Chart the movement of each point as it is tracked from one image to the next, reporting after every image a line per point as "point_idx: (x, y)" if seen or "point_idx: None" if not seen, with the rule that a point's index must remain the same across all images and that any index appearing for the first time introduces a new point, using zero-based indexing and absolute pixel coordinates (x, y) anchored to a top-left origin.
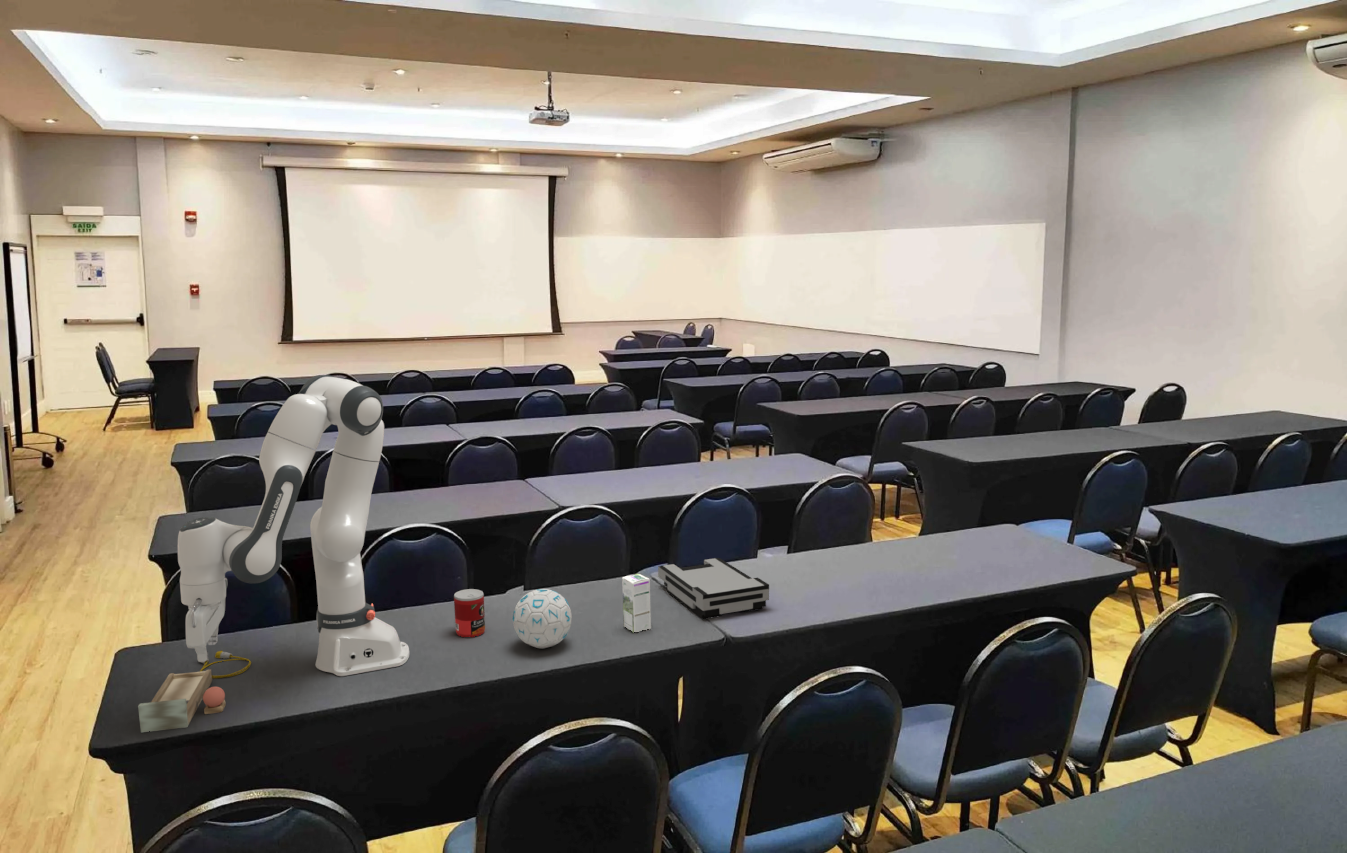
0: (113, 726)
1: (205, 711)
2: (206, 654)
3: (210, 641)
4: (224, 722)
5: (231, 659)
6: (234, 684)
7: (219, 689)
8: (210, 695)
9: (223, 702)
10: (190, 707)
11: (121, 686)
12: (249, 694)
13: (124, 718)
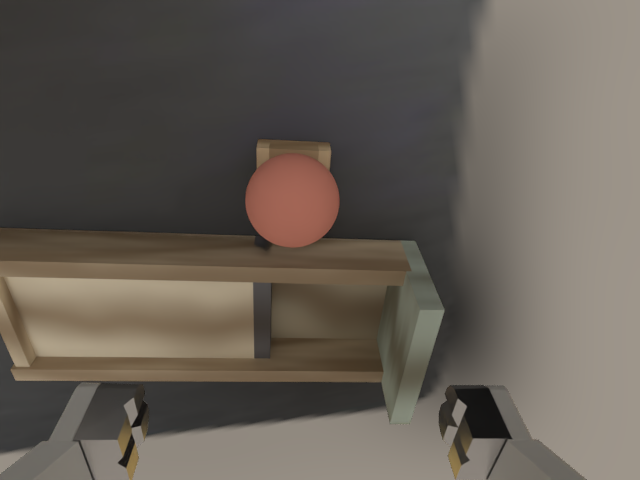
0: (319, 405)
1: None
2: (520, 426)
3: (134, 433)
4: (437, 118)
5: None
6: (28, 132)
7: (301, 192)
8: (332, 219)
9: (282, 151)
10: (358, 266)
11: None
12: (157, 42)
13: (275, 395)
